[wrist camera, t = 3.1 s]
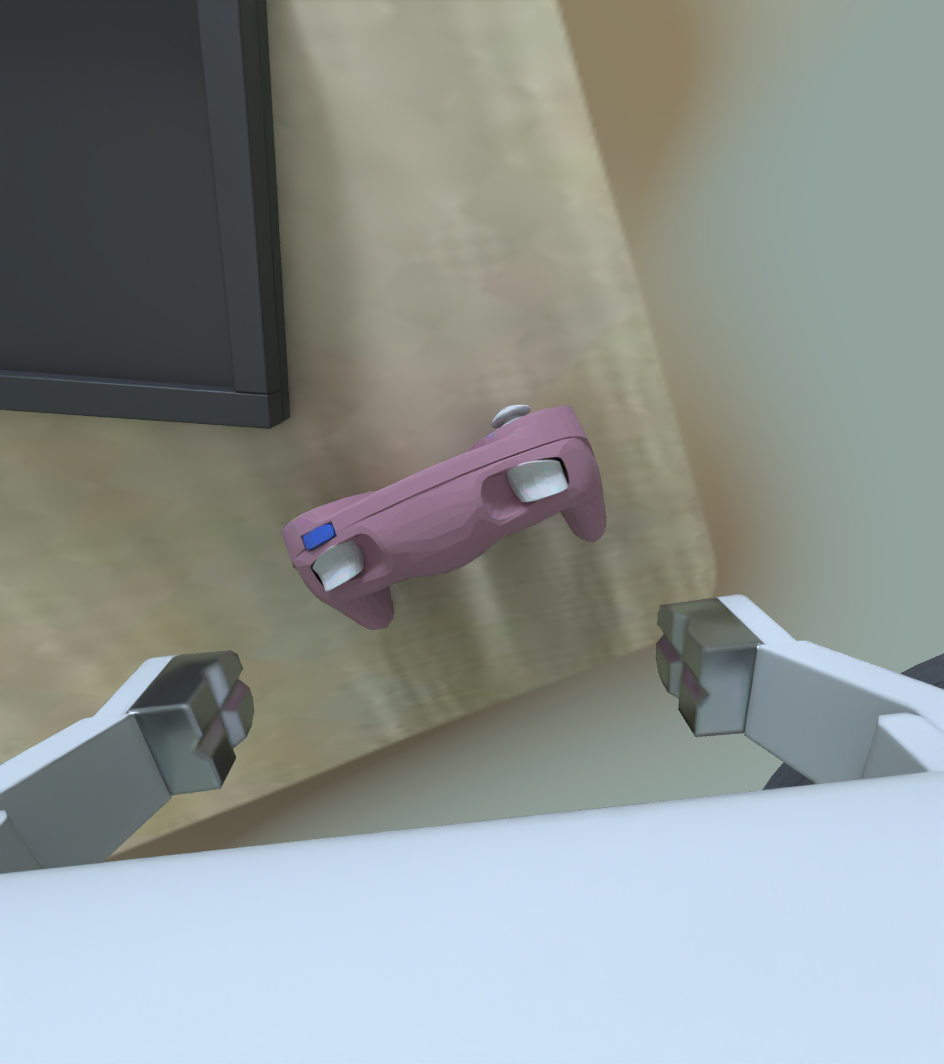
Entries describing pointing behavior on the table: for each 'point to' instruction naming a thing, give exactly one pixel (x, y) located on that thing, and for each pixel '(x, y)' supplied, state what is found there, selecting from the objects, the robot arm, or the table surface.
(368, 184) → the table surface
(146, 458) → the table surface
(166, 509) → the table surface
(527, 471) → the video game controller
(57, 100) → the black rectangular tray
